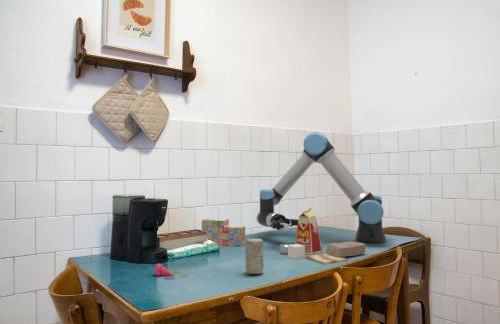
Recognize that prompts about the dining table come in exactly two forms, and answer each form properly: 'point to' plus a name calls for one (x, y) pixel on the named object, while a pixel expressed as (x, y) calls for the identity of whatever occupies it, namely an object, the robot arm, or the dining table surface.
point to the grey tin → (284, 249)
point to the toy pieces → (166, 272)
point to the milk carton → (308, 232)
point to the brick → (345, 249)
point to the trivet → (326, 258)
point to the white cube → (296, 251)
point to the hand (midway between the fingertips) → (300, 226)
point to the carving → (254, 256)
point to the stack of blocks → (224, 232)
